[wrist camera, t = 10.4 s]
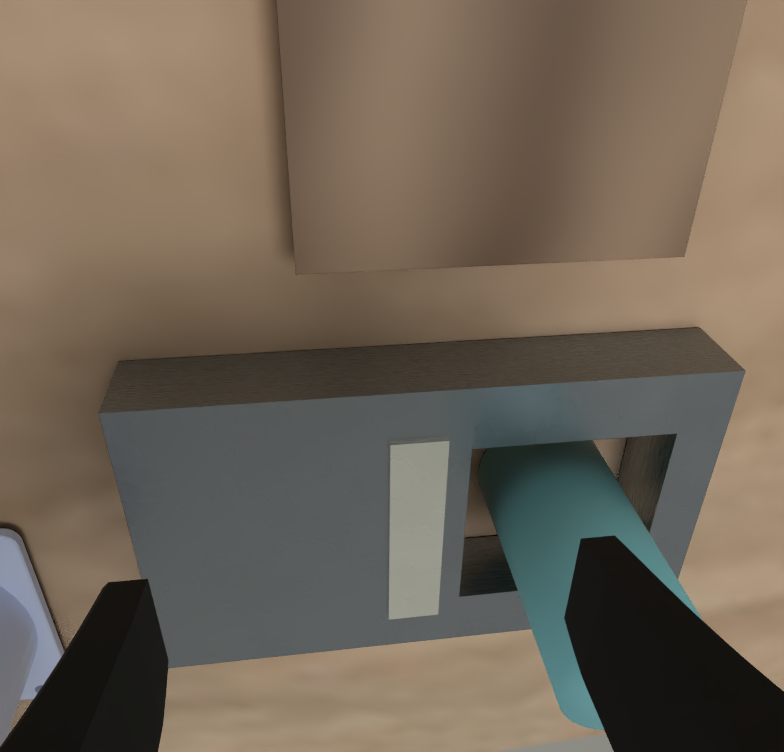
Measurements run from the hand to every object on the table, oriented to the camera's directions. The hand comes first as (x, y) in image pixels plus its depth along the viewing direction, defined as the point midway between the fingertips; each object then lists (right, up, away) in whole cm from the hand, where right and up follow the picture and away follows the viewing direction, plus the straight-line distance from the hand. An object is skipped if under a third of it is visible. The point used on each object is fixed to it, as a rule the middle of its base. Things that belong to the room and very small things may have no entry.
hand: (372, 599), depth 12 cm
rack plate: (+1, 0, +11) cm, 11 cm away
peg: (+5, +1, +12) cm, 13 cm away
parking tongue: (+3, +10, +5) cm, 12 cm away
